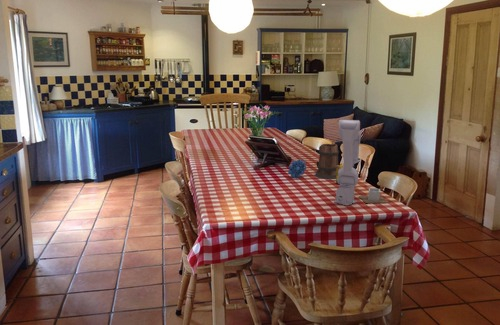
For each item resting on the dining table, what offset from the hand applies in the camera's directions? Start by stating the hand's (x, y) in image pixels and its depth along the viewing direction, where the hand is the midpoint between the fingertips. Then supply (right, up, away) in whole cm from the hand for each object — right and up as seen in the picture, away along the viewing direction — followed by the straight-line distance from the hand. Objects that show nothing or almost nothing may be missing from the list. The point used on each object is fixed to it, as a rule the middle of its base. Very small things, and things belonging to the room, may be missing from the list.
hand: (351, 176), depth 250 cm
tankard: (-8, 0, +41) cm, 42 cm away
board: (+9, -12, -11) cm, 19 cm away
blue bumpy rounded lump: (-27, -2, +34) cm, 43 cm away
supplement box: (-1, -5, +20) cm, 21 cm away
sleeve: (+9, -12, -11) cm, 19 cm away
